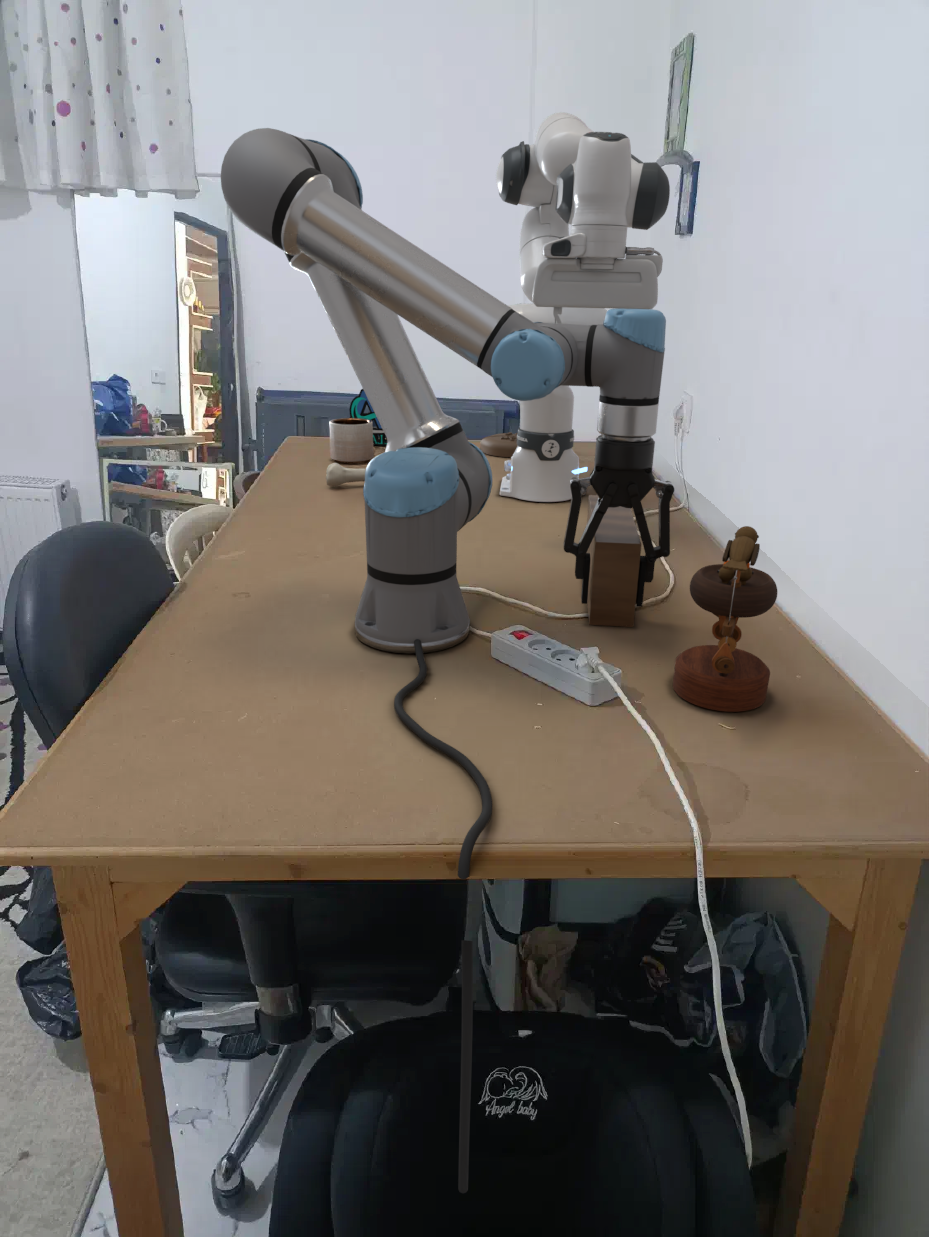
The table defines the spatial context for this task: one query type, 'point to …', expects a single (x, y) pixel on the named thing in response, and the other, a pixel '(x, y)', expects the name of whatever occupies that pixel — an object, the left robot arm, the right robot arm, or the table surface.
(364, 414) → the decorative sign
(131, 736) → the table surface
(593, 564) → the box
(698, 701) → the music box
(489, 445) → the brown flat oval slab
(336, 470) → the dog toy
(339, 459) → the planter
